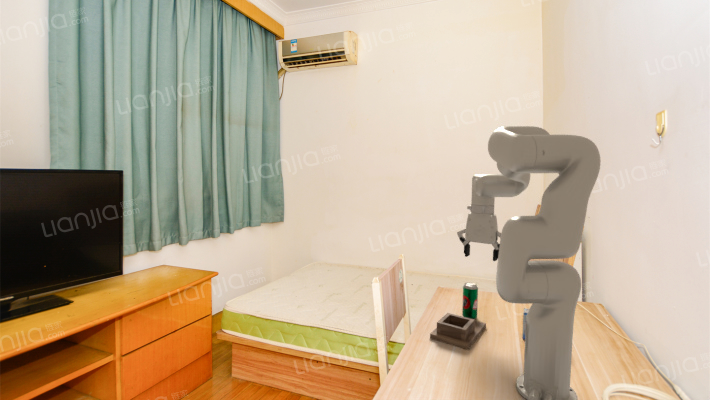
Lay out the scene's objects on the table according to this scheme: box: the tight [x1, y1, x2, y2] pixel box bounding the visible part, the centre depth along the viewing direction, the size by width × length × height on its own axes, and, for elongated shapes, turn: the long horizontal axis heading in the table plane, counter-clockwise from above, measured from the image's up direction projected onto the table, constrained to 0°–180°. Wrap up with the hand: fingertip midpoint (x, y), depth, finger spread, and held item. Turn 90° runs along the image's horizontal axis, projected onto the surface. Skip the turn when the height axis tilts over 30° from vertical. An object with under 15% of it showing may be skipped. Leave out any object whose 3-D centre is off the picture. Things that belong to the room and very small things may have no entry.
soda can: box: [461, 282, 479, 320], centre depth 122 cm, size 5×5×12 cm
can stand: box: [429, 312, 487, 351], centre depth 111 cm, size 18×12×5 cm, turn 144°
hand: (480, 258), depth 121 cm, fingers open, 9 cm apart
